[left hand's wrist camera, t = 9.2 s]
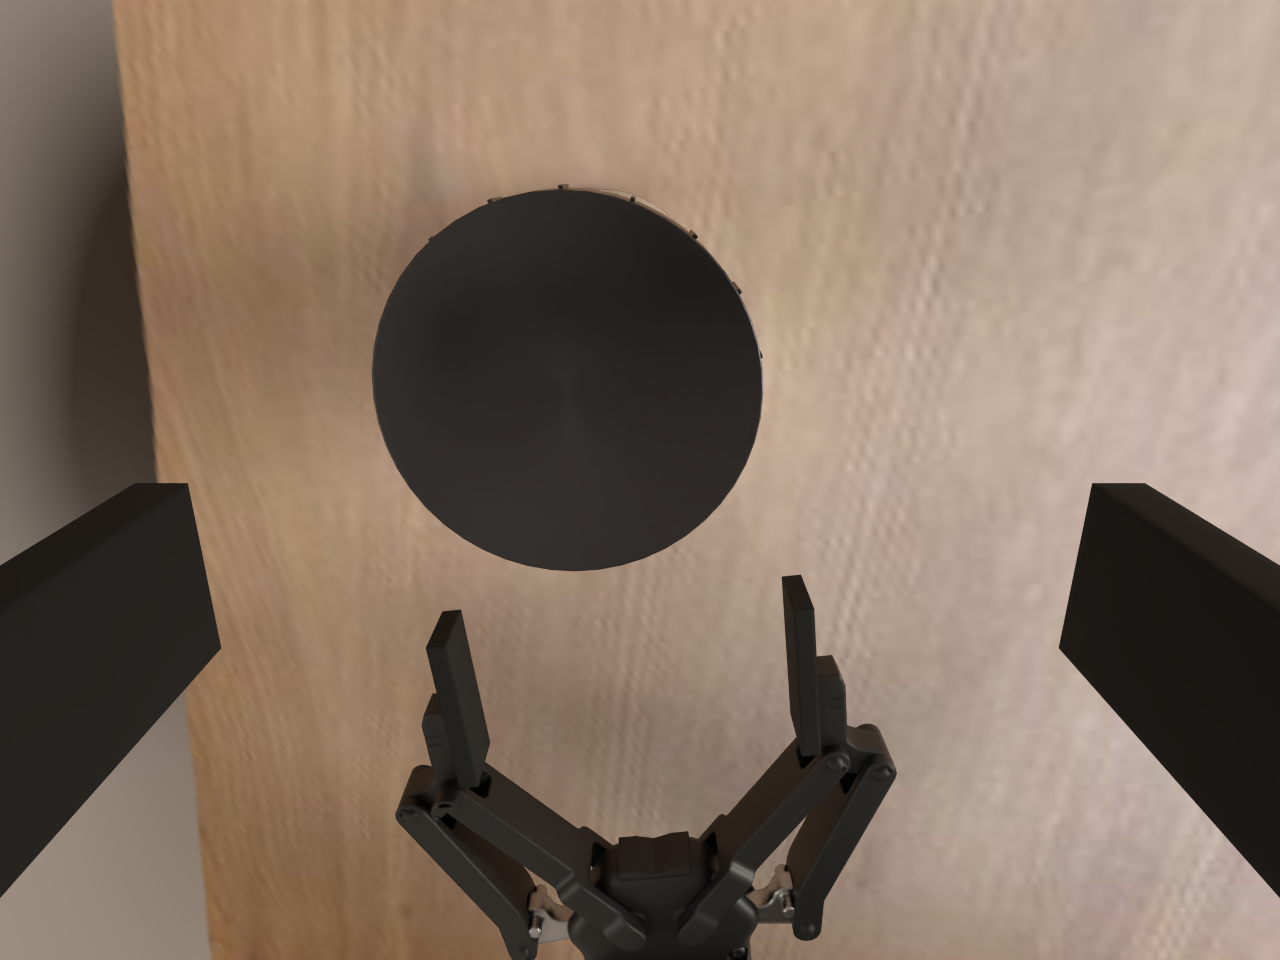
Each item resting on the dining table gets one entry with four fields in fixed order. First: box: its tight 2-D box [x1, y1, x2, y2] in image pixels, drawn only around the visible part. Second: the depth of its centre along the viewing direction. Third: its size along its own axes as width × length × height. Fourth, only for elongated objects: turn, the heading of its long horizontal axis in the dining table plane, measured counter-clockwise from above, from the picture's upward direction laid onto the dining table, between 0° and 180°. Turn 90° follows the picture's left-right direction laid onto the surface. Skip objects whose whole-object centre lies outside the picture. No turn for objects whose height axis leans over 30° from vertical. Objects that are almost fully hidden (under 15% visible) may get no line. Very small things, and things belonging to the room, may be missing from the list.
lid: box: [372, 184, 763, 571], centre depth 20 cm, size 9×9×2 cm
